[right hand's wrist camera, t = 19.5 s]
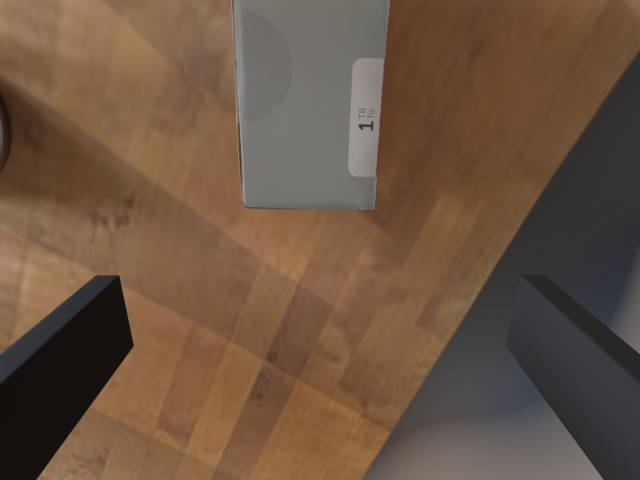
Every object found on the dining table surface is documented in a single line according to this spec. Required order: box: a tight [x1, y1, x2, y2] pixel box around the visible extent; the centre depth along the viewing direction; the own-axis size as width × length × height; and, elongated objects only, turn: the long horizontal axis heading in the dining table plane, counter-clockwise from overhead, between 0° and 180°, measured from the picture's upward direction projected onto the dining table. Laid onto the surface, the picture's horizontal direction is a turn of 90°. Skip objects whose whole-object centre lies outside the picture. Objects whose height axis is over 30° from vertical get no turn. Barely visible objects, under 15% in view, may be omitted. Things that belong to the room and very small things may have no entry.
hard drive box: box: [231, 0, 390, 210], centre depth 28 cm, size 16×8×20 cm, turn 179°
